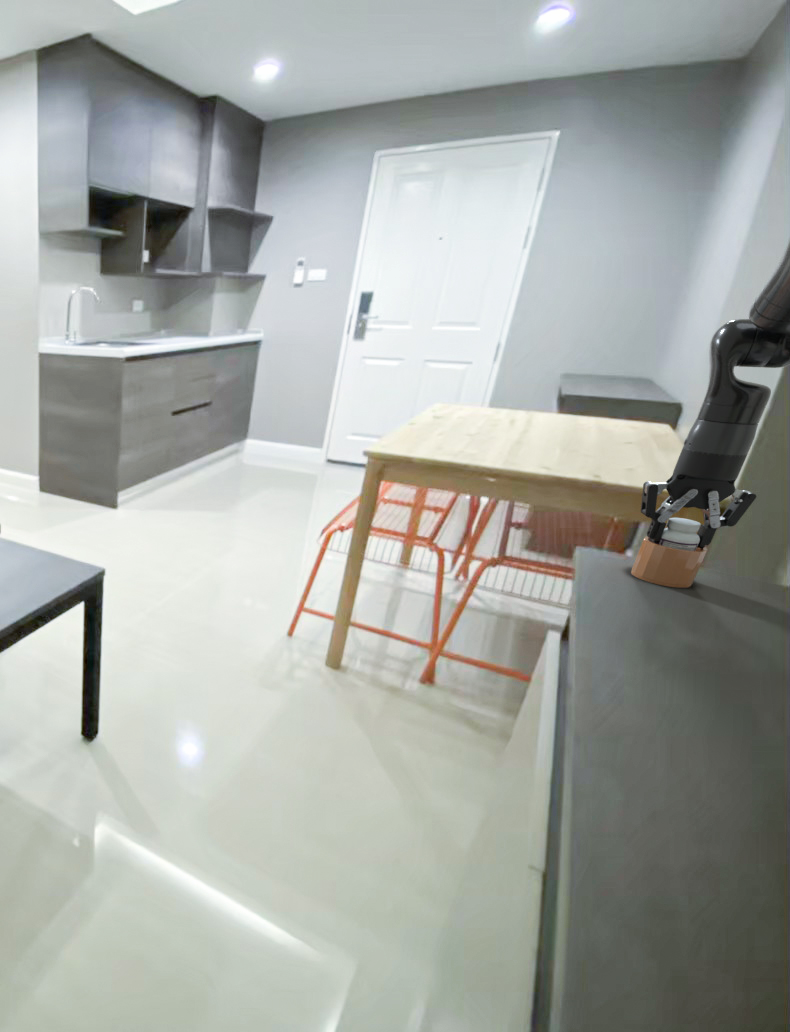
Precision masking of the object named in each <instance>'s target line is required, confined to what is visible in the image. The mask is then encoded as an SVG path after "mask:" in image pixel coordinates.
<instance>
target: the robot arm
mask: <svg viewBox="0 0 790 1032" xmlns="http://www.w3.org/2000/svg"><path fill="white" fill-rule="evenodd" d="M708 349H709V350H708V353H709V354H708V356H709V359H708V360H709V374H708V383H707V387H706V392H705V394H704V399H703V400H702V403H701V406H700V408H699V411H698V414H697V416H696V419H695V420H694V422H693V424H692V426H691V427H690V429H689V431H688V433H687V436H686V438H684V441H683V446H682V449H681V451H680V454H679V455H678V458H677V461H676V464H675V466H674V469H673V471H672V475H671V476H670V477H669V478H668V479H667V480H666V481H663V482H653V481H649V480H647V481H645V482H644V483H643V485H642V493H641V503H640V505H641V506H640V513H641V514H642V515H644V516H645V517H646V518H649V519H651V521H650V523H649V526H648V529H647V531H646V536H648V537H649V540H650V541H652V542H656V543H658V542H659V541H660V538H661V536H662V534H663V531H664V529H665V528H666V527H667V525H666V524H667V522H668V520H669V519H670V518H672V516H673V515H674V514H676V513H678V512H679V511H681V510H682V509H683V508H686V509H688V508H689V509H690V508H695V509H699V510H701V511H700V512H701V513H702V516H703V524H702V523H700V524H701V525H700V528H699V530H698V531H697V532H696V534H697V535H698V536H699V537H700V541H699V544H698V546H697V548H704V547H706V546H709V545H710V544H711V543H712V541H713V538H714V536H715V534H716V533H717V532H716V531H717V530H718V529H719V528H721V527H729V528H731V527H734V526H736V525H737V523H739V521H740V520H741V518H742V517H743V515H745V513H746V512H747V511H748V509H749V508H750V506H751V505H752V504H753V503H754V501H755V500H756V498H757V494H756V493H753V492H752V491H750V490H747V489H742V490H741V489H738V488H736V486H735V483H736V481H737V479H738V478H739V475H740V472H741V470H742V468H743V466H744V463H745V461H746V459H747V457H748V455H749V452H750V450H751V447H752V446H753V443H754V440H755V437H756V434H757V429H758V426H759V423H760V421H761V419H762V416H763V414H764V413H765V410H766V407H767V405H768V403H769V400H770V399H771V395H772V390H771V388H770V387H769V386H768V385H764V384H761V383H757V382H751V381H746V380H742V379H740V378H738V377H737V376H736V375H735V367H739V368H743V367H744V368H766V369H767V368H768V369H769V368H771V369H776V368H777V369H779V368H786V367H788V366H790V237H788V241H787V244H786V246H785V249H784V251H783V253H782V256H781V258H780V260H779V262H778V265H777V266H776V268H775V269H774V271H773V272H772V274H771V275H770V277H769V279H768V280H767V282H766V283H765V284H764V286H763V287H762V289H761V290H760V292H759V293H758V295H757V297H756V298H755V299H754V300H753V302H752V304H751V305H750V307H749V311H748V318H738V319H733V320H730V321H727V322H726V323H724V324H722V325H721V326H720V327H719V328H718V329H717V330H716V331H715V332H714V333H713V334H712V337H711V339H710V343H709V348H708ZM664 490H666V491H667V493H668V495H669V496H668V497H667V498H666V499H664V500H663V502H661V504H660V507H658V508H657V501H658V496H661V495H662V493H663V491H664ZM730 496H731V497H730ZM729 497H730V501H731V503H730V504H729V505H728V506H727V508H726V509H725V510H724V511H723V513H722V515H721V508H720V507H721V506H720V503H721V502H722V501H724V500H726V499H728V498H729ZM720 515H721V516H720Z"/></svg>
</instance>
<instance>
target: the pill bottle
mask: <svg viewBox="0 0 790 1032" xmlns="http://www.w3.org/2000/svg"><path fill="white" fill-rule="evenodd" d="M701 524H702V523H701V522H699V521H697V520H694V519H689V518H683V517H670V518H669V519H668V520H667V521H666V527H665V529H664V531H663V534H662V536H661V538H660V541H659V542H658V543H656V542H654V543H655V544H658V545H661V546H665V547H669V548H674V549H679V550H687V551H695V550H696V548H697V546H698V544H699V541H700V537H699V536H698V535H697V533H698V530H699V528H700V526H701Z"/></svg>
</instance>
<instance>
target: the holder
mask: <svg viewBox="0 0 790 1032" xmlns="http://www.w3.org/2000/svg"><path fill="white" fill-rule="evenodd" d="M707 552H708V547H706V546H705V547H704V548H696V550H695V551H687V550H679V549H674V548H669V547H665V546H661V545H658V544H655V543H654V542H652V541H650V540H649V537H648V536H647V535H646V536H644V538H643V540H642V543H641V545H640V548H639V550H638V552H637V555H636V557H635V560H634V562H633V565H632V568H631V571H630V574H631V575H632V576H634V577H635V578H637V579H639V580H642V581H644V582H647V583H651V584H655V585H659V586H664V587H669V588H679V589H680V588H681V589H683V588H685V589H686V588H690V587H692V586H693V584H694V581H695V578H696V577H697V575H698V572H699V570H700V569H701V568H700V567H701V565H702V562H703V561H704V560H705V559H704V558H705V557H706V554H707Z"/></svg>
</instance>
